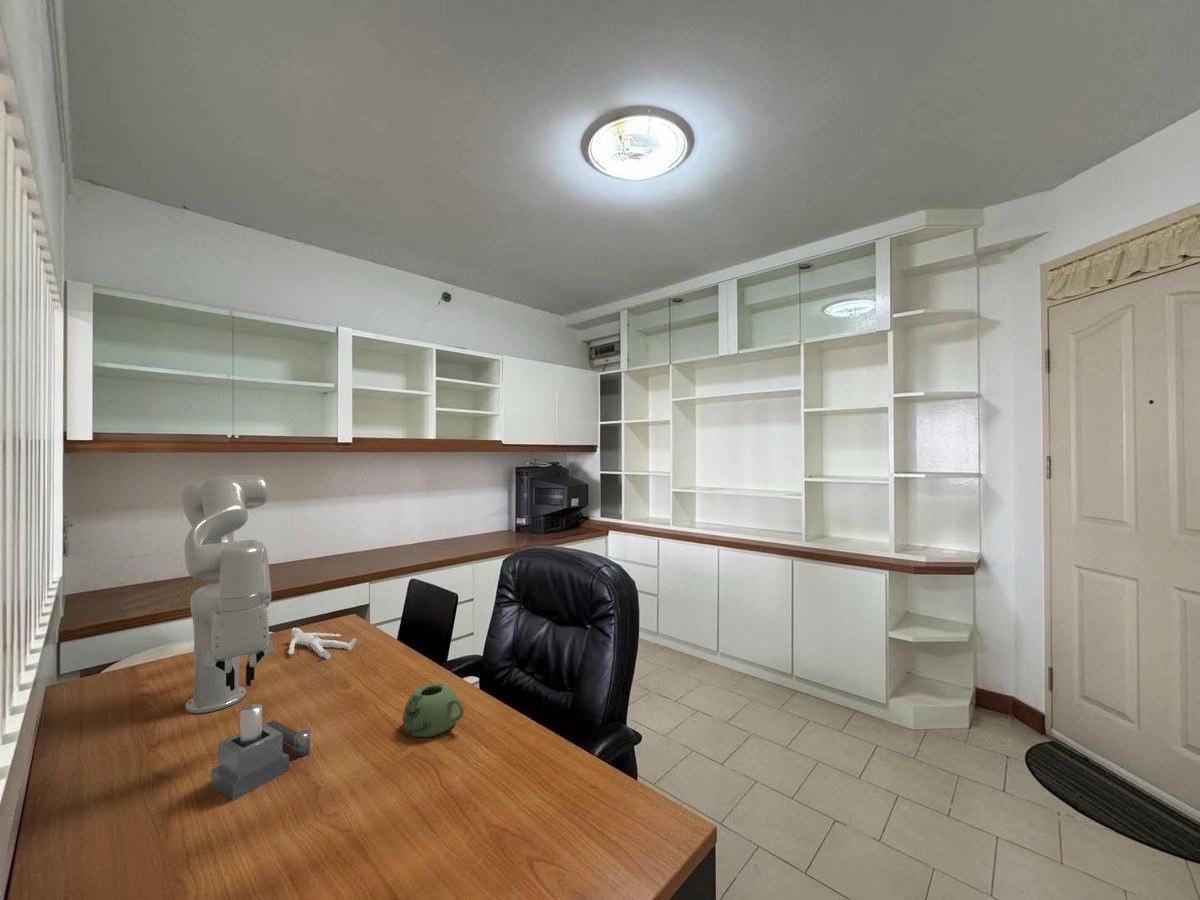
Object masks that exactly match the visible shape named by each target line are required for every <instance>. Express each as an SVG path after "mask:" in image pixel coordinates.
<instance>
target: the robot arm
mask: <svg viewBox="0 0 1200 900" xmlns="http://www.w3.org/2000/svg"><path fill="white" fill-rule="evenodd" d="M269 497H270V486H269V483H268V481H267V480H266V478H264V477H263V476H261V475H259V474H237V475H234V474H232V475H231V474H229V475H227V474H225V475H218V476H213V477H210V478H208V479H206V480H205V481H200V482H194V483H190V484H187V486H185V487H184V489H183V490H182V493H181V502H182V509H183V511H184V514H185V517H186V518H187V521H188V523H189V524H190V526H191V529H190V530H189V532H188V533H187V535H186V537H185V540H184V546H183V547H184V559H185V568H186V571H187V573H188V575H189V576H190V577H192V578H193V579H200V580H204V581H211V580H212V581H213V580H219V582H218V583H211V584H207V585H204V586H201V587H199V588H198V589H196V590H195V591H194V592H193V593H192V595H191V596H190V599H189V606H190V612H191V613H190V614H191V618H192V624H193V626H192V627H193V697H191V698H190V699H189V700H188V701H187V702H186V703H185V711H186V712H187V713H191V714H204V713H209V712H214V711H219V710H222V709H225V708H227V707H230V706H232V705H234V704H236V703H239V702H240V701H241V700H243V698H244V697H245V696H246V694H247V689H246V688H245V687H243V686H240V657H241V656H245V655H248V662H247V663H246V665H245V685H246V687H251V686H252V685H251V684H252V681H254V680H255V669H256V668H255V667H256V666H257V664H258V663H259V662H260V661H261V660H262V659H263V658H264V656H266V655H268V654H269V653H271V652H273V651H274V650H275V649H276V647H275V644H274V643H273V641H272V640H271V638H270V630H269V629H270V627H269V618H268V617H269V616H268V608H269V606H270V604H271V600H272V586H271V576H270V565H269V556H268V550H267V548H266V546H265V545H264V543H263V542H260V541H258V540H254V539H252V540H250V539H249V540H247V539H246V540H239V541H235V538H234V537H235V536H234V532H235V531H237V530H239V529H241V528H242V527H243V526H245V524H246V523H247V521H248V519H249V512H248V510H252V509H256V508H259V507H262V506H264V505H265V504H266V503H267V502H268V500H269Z"/></svg>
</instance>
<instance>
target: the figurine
mask: <svg viewBox="0 0 1200 900" xmlns="http://www.w3.org/2000/svg"><path fill="white" fill-rule="evenodd" d="M341 636H342V634H339V632H338V633H336V634H334V633H326V632H304V631H303V630H302V629H300V628H299V627H298V628H297V627H293V628H292V629H291V632H290V637H291V638H292V639H291V641H290V642H289V646H288V651H287V653H288V654H289V655H294V653H295V646H296V645H297V644H298V645H303V646H307V647H308V649H309V650H313V652H314V653H316V654H317V655H318V656H319V657H320V658H324V659H325V660H328V659H330V658H331V657H332V654H331V653H330V652H328V650H326V649H324V648H334V649H342V648H344V650H348V651H351V650H352V649H353V648H354V645H355V643H356V642H357V637H355V638H351V640H350V642H349V643H348V642H345V641H340V640H336V639H321V638H320V637H325V638H326V637H329V638H333V637H341Z"/></svg>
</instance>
